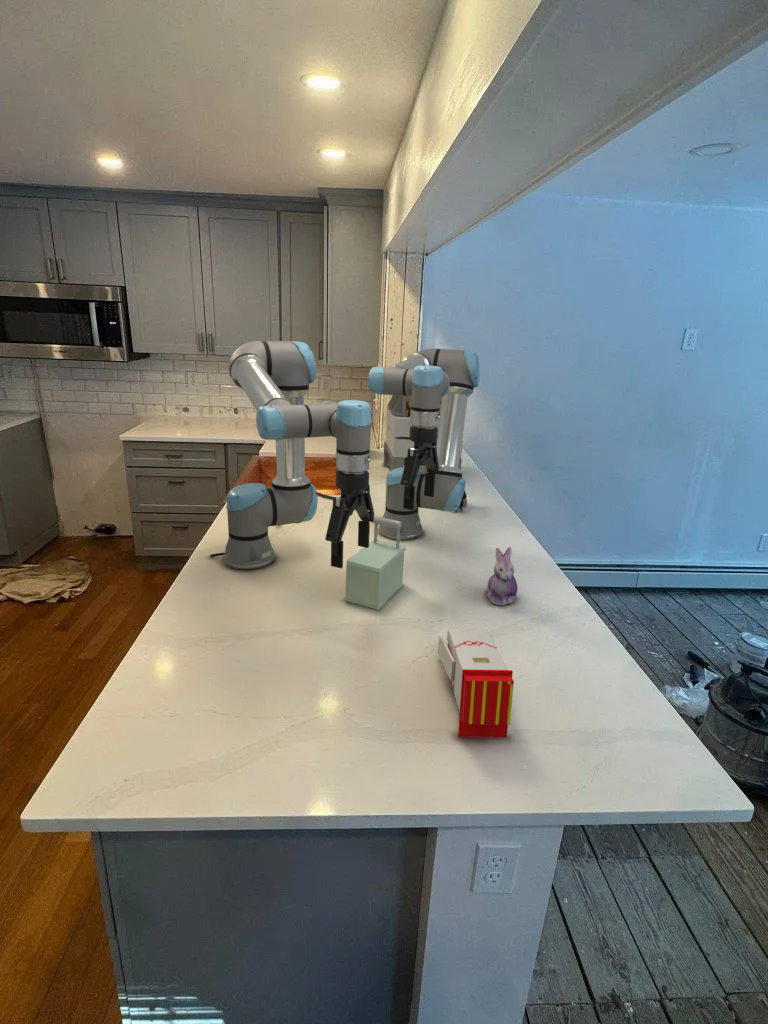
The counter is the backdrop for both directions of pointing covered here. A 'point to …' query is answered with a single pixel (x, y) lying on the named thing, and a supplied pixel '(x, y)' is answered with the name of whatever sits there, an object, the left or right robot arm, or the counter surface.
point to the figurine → (502, 580)
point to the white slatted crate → (400, 432)
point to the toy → (478, 682)
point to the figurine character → (463, 501)
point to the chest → (374, 583)
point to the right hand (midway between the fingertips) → (418, 502)
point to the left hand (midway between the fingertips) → (350, 556)
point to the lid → (378, 549)
